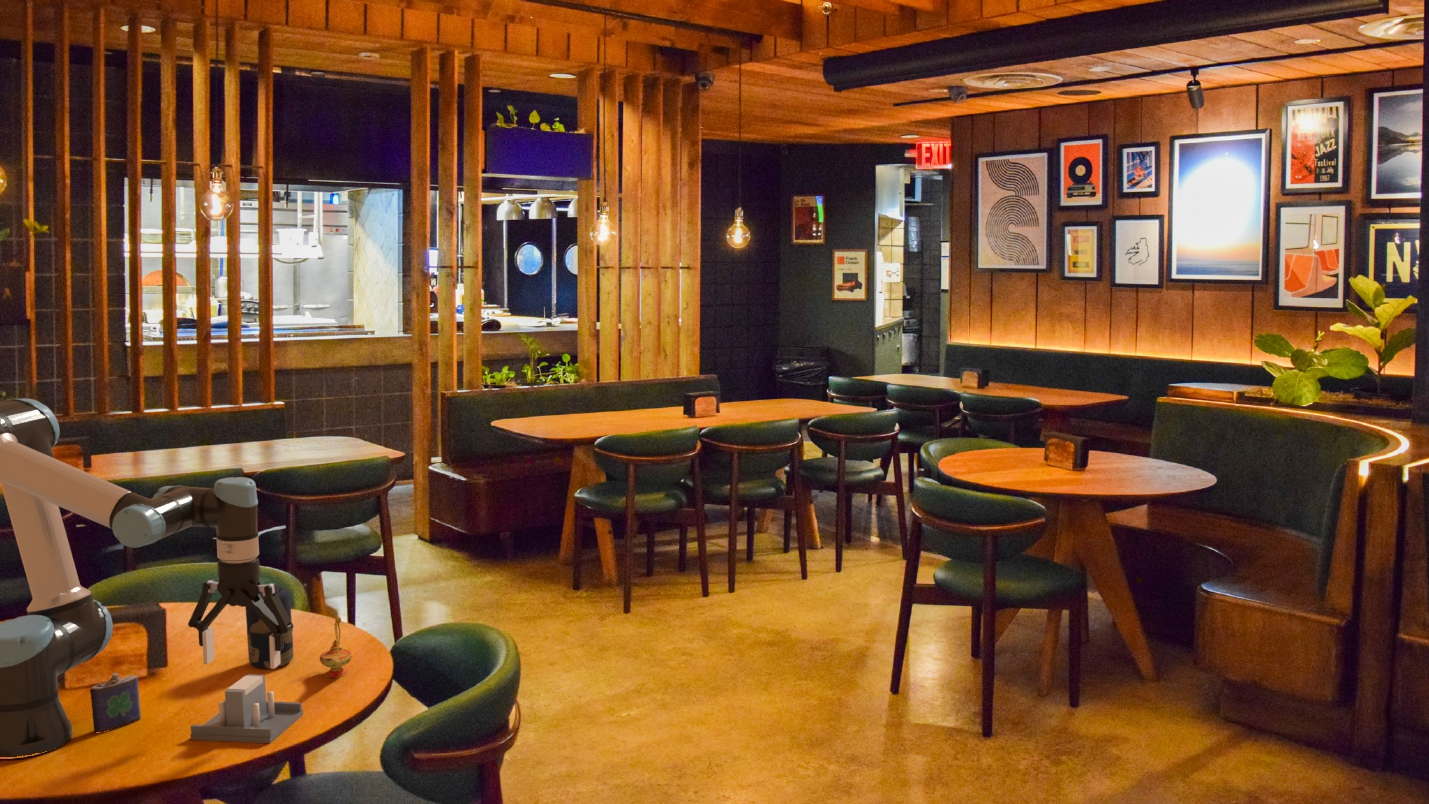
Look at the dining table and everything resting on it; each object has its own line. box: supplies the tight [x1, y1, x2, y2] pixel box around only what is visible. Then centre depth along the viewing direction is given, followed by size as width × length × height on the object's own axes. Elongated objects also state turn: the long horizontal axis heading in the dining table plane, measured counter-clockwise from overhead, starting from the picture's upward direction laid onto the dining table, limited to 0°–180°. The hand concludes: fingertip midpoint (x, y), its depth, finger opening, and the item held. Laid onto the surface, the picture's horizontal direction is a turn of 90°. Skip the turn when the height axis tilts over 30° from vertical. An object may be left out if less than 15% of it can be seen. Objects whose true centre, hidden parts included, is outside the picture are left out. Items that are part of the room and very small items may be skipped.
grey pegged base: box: [190, 690, 304, 744], centre depth 240 cm, size 16×14×6 cm
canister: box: [245, 585, 294, 669], centre depth 274 cm, size 10×10×18 cm
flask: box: [89, 672, 142, 733], centre depth 240 cm, size 9×3×11 cm, turn 144°
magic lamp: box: [319, 616, 353, 678], centre depth 266 cm, size 7×18×11 cm, turn 9°
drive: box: [224, 674, 267, 727], centre depth 239 cm, size 4×9×8 cm, turn 173°
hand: (242, 664), depth 238 cm, fingers open, 13 cm apart
